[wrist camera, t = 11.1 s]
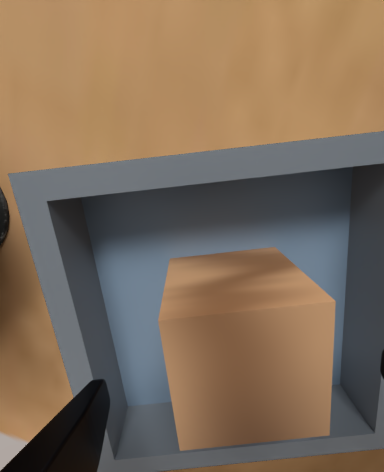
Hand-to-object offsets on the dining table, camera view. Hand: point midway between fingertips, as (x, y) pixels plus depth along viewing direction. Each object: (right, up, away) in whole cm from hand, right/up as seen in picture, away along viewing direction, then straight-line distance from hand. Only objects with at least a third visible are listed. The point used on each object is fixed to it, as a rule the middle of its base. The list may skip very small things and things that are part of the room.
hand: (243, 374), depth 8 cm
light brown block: (0, +1, +4) cm, 5 cm away
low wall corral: (0, +1, +5) cm, 5 cm away
